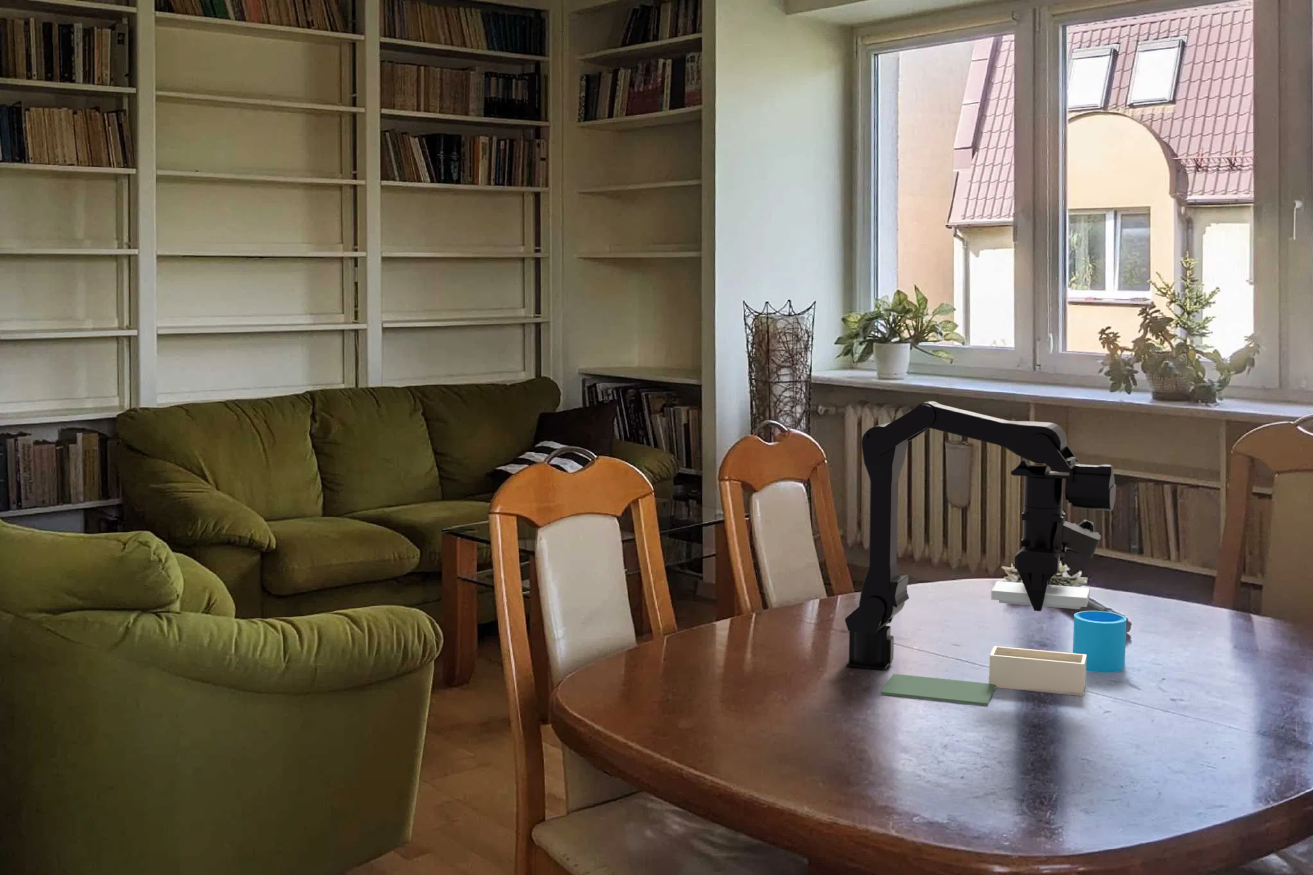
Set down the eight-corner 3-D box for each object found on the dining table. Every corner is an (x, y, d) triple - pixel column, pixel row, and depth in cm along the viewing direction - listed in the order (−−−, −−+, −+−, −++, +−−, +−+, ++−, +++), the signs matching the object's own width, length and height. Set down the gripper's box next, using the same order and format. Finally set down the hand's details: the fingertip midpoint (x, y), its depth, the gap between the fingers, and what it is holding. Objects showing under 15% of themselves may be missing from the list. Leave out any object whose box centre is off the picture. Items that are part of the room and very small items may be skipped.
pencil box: (988, 686, 209) (989, 655, 208) (993, 676, 214) (994, 645, 213) (1083, 696, 204) (1084, 664, 203) (1085, 685, 209) (1086, 654, 208)
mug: (1111, 675, 214) (1113, 626, 213) (1063, 666, 220) (1065, 617, 219) (1142, 660, 223) (1144, 612, 222) (1095, 651, 228) (1097, 604, 227)
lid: (991, 604, 206) (991, 590, 206) (996, 594, 213) (996, 580, 213) (1086, 612, 201) (1086, 597, 201) (1089, 601, 208) (1089, 587, 208)
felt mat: (880, 694, 205) (880, 691, 205) (893, 676, 214) (893, 673, 214) (987, 705, 199) (987, 703, 199) (995, 686, 208) (995, 684, 208)
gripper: (1095, 519, 194) (1091, 624, 196) (1101, 499, 211) (1098, 596, 213) (1015, 514, 198) (1012, 618, 200) (1028, 495, 215) (1025, 590, 217)
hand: (1040, 605), depth 207 cm, fingers closed on lid, 7 cm apart
